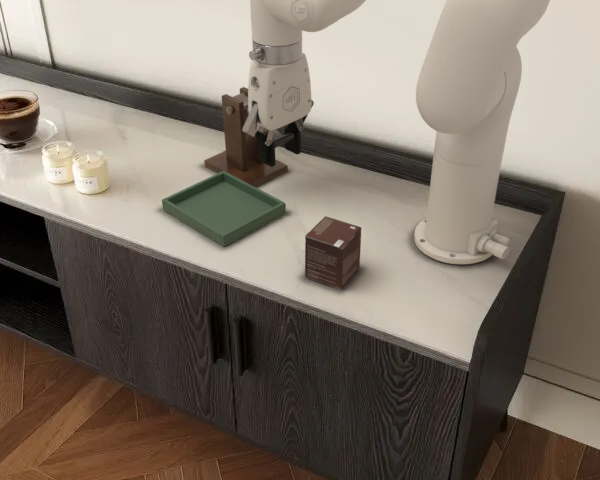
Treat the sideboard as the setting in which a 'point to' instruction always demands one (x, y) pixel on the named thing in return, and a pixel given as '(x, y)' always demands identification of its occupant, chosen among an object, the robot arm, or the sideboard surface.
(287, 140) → the lever handle
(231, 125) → the brown lever stand
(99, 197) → the sideboard surface
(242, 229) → the square tray
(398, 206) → the sideboard surface
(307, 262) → the box
